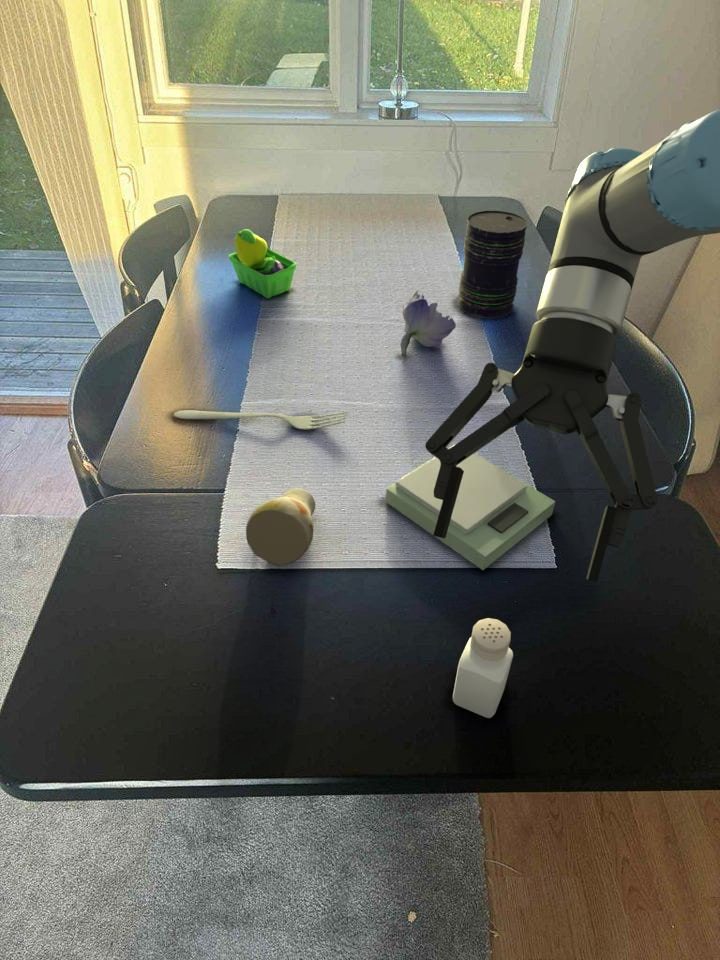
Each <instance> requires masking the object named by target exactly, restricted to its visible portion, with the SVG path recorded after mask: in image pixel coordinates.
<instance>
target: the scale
mask: <svg viewBox="0 0 720 960" xmlns="http://www.w3.org/2000/svg"><path fill="white" fill-rule="evenodd" d="M456 444H457V443H455V444H453V445H452V446H450V447H448V449H450V448H451V447H453V446H454V445H456ZM440 466H441V463H440V460H439V459H438V458H436V457H435V456H433V458H431V459H429V460H428V461H426V462H425V463H423V464H422V465H420V466H419V467H416V469H414V470H412V471H411V472H409V473H407V474H406V475H404V476H403V477H401V478H399V479H398V480H396V482H395V483H393V484H391V485H390V486H388V487H387V488H386V491H385V492H386V493H385V503H386V504H388V505H389V506H391V507H392V508H394V509H395V510H396V511H397V512H399V513H401V514H402V515H404V516H405V517H406V518H408V519H409V520H411V521H412V522H414V523H415V524H416V525H418V526H419V527H420V528H422V529H423V530H425V531H426V532H428V533H429V534H430V535H432V536H433V534H434V531H435V527H436V524H437V520H438V516H439V513H440V509H441V506H442V502H443V500H441V499H437V498H435V497H434V488H435V484H436V481H437V477H438V473H439V470H440ZM456 467H460V468H461V469H462V470H463V471H464V473H463V477H462V480H461V484H460V488H459V491H458V495H457V498H456V502H455V506H454V509H453V513H452V516H451V520H450V524H449V527H448V531H447V534H446V538H440V537H437V536H434V537H435V539H437V540H439V541H440V542H441V543H443V544H445V545H446V546H447V547H449V548H450V549H451V550H453V551H454V552H456V553H457V554H458V555H460V556H462V557H463V558H464V559H466V560H468V561H469V562H470V563H472V564H473V566H476V567H477V568H479V569H480V570H482V571H484V570H485V569H487V568H488V567H489V566H490V565H491V564H493V563H494V562H496V560H497V559H499V558H501V557H502V556H503V555H504V554H505V553H507V552H508V551H509V550H510V549H512V548H513V547H514V546H515V545H517V544H518V543H519V542H521V540H523V539H524V538H525V537H526V536H528V535H530V533H531V532H533V531H534V530H535V529H537V528H538V527H539V526H540V525H542V524H543V523H544V522H545V521H546V520H548V519H549V518H550V517H551V516H552V515H553V514H554V508H555V505H556V501H555V500H554V499H552V498H550V497H549V496H547V495H545V494H544V493H542V492H540V491H539V490H537V489H535V488H534V487H532V486H530V485H528V484H527V483H525V482H523V481H522V480H520V479H518V478H517V477H515V476H513V475H512V474H510V473H508V472H507V471H505V470H503V469H502V468H500V467H498V466H496V465H495V464H494V463H491V462H490V461H488V460H486V459H485V458H483V457H481V456H480V455H478V454H476V452H475V453H474V454H472V455H471V456H469V457H468V458H467V459H465V460H464V461H462V462H461V463H459V464H458V465H457V466H456Z"/></svg>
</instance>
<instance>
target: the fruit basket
mask: <svg viewBox="0 0 720 960" xmlns="http://www.w3.org/2000/svg"><path fill="white" fill-rule="evenodd" d="M234 245H235V249H236V252H233V253H230V254H228V258H229V260H230V262H231V263H232V266H233V269H234V271H235V273H236V276H237V279H238V281H239V283H241V284H243V285H245V286H246V287H248V288H249V289H251V290H253V291H254V292H256V293H257V294H260V295H262V296H263V297H265V298H266V299H270V298H271V297H275V296H278V295H281V294H283V293H285V292H288V291H291V286H292V282H293V278H294V274H295V270H296V268H297V265H298V263H296V262H295V261H293V260H291V259H289V258H287V257H286V256H283V255H281V254H280V253H278V252H275V251H273V250H272V249H270V248H268V243H267V242H266V240H265V239H263V238H262V237H260V236H259V235H257V234H254V233H253V231H252V230H250V229H247V228H245V229H242V230H241V231H237V232H236V236H235V238H234Z"/></svg>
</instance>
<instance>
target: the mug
mask: <svg viewBox="0 0 720 960" xmlns="http://www.w3.org/2000/svg"><path fill="white" fill-rule="evenodd" d="M315 510H316V501H315V498H314V496H313V495H312V494H311V493H310V492H309V491H307V490H305V489H303V488H296V487H295V488H291V489H288V490H287V491H286V492H285V493H284V494H283V495H282V496H281V497H276V498H272V499H268V500H266V501H265V502H262V504H260V505H259V506H257V507H256V508H255V509H254V510H253V511H252V513H251V515H250V516H249V519H248V521H247V523H246V527H245V537H246V540H247V544H248V546H249V548H250V549H251V550H252V553H253V554H254V555H255V556H257V557H258V558H260V559H261V560H264V561H266V562H267V563H269V564H271V565H275V566H283V565H290V564H292V563H294V562H296V561H297V560H299V559H300V558H302V557H303V556H304V555H305V554H306V552H307V551H308V550H309V548H310V546H311V544H312V541H313V538H314V522H313V517H312V516H313V514H314V513H315Z"/></svg>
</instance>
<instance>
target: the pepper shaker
mask: <svg viewBox="0 0 720 960" xmlns="http://www.w3.org/2000/svg"><path fill="white" fill-rule="evenodd" d="M508 627H509V626H507V624H506V623H504V622H502V621H501V620H499V619H496V618H490V617H487V618H483V619H480V620H478V621H477V622H476V623H475V624H474V625H473V627H472V632H471V637H469V639H468V640H467V643H466V645H465V647H464V649H463V652H462V653H461V656H460V658H459V661H458V664H457V669H456V670H457V671H456V676H455V682H454V688H453V693H452V702H453V703H454V704H455V705H456V706H458V707H461V708H462V709H465V710H466V711H470V712H472V713H474V714H477V715H479V716H482V717H483V718H486V719H491V718H492V717H493V716H495V714H496V712H497V709H498V707H499V704H500V703H501V702H500V701H501V699H502V696H503V694H504V691H505V688H506V684H507V680H508V677H509V673H510V670H511V665H512V662H513V659H514V652H513V650H512V649H511V648H510V644H511V634H512V632H511V630H510V629H509V628H508Z"/></svg>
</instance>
